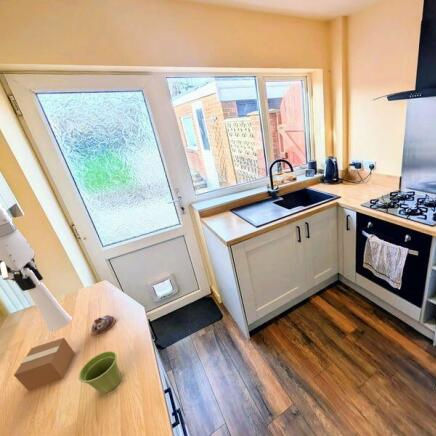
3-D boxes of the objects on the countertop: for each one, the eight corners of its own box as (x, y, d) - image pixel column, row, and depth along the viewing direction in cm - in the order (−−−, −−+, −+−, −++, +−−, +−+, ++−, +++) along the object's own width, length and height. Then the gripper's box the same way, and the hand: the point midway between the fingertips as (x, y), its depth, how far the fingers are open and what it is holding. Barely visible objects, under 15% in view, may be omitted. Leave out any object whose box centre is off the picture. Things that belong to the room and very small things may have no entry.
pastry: (92, 338, 93) (86, 328, 91) (91, 326, 98) (86, 317, 96) (117, 326, 97) (111, 316, 95) (114, 315, 103) (109, 306, 101)
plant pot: (84, 396, 73) (70, 378, 69) (111, 366, 81) (100, 348, 78) (108, 403, 71) (95, 384, 67) (134, 371, 79) (123, 353, 75)
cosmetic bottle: (52, 334, 77) (12, 278, 68) (45, 327, 80) (6, 273, 71) (75, 320, 82) (40, 266, 73) (67, 314, 85) (33, 261, 76)
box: (27, 391, 76) (12, 374, 73) (43, 363, 85) (31, 347, 82) (63, 378, 79) (50, 362, 76) (75, 352, 88) (64, 337, 84)
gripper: (-2, 223, 72) (32, 273, 80) (-47, 249, 58) (0, 307, 66) (29, 217, 74) (60, 266, 82) (-6, 240, 60) (34, 297, 68)
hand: (33, 284), depth 74 cm, fingers closed on cosmetic bottle, 3 cm apart
